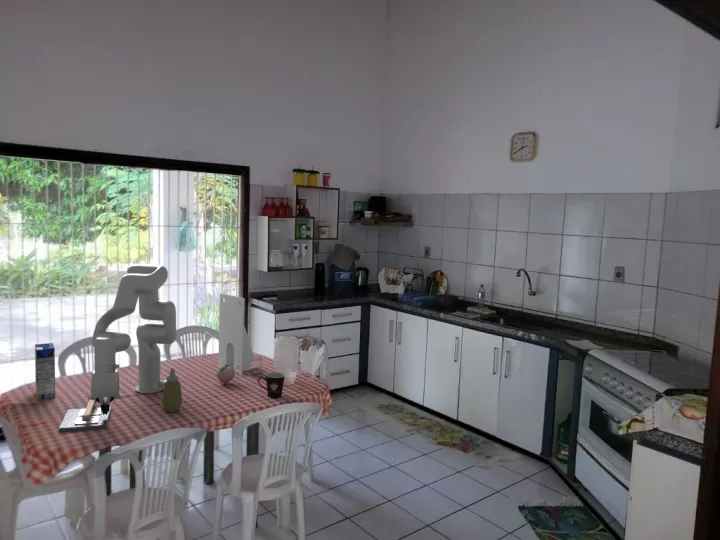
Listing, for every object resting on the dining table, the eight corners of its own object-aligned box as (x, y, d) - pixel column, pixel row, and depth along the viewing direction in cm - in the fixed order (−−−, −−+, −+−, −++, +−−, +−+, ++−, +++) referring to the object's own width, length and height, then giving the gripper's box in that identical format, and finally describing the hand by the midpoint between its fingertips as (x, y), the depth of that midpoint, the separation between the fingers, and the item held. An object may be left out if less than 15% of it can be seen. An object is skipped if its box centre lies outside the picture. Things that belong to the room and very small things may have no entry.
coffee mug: (287, 395, 262) (288, 374, 261) (277, 400, 254) (278, 378, 253) (266, 390, 267) (267, 370, 266) (256, 395, 259) (256, 374, 258)
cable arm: (98, 399, 235) (98, 395, 235) (90, 421, 212) (90, 416, 212) (89, 400, 234) (89, 395, 234) (79, 422, 211) (79, 417, 211)
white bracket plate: (263, 369, 301) (265, 296, 297) (241, 374, 290) (243, 298, 286) (239, 362, 314) (241, 291, 310) (218, 366, 303) (219, 293, 299)
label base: (111, 407, 236) (111, 400, 236) (105, 428, 215) (105, 420, 214) (69, 410, 231) (69, 402, 231) (59, 432, 210) (58, 423, 209)
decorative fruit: (230, 387, 269) (230, 367, 268) (214, 386, 271) (214, 365, 270) (237, 381, 278) (238, 362, 277) (222, 380, 280) (222, 360, 279)
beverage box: (37, 400, 241) (36, 350, 239) (35, 392, 251) (34, 344, 248) (55, 397, 245) (54, 348, 243) (53, 390, 254) (52, 342, 252)
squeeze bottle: (164, 406, 240) (165, 365, 238) (184, 407, 241) (184, 366, 239) (159, 413, 232) (159, 371, 230) (179, 413, 233) (180, 371, 231)
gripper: (126, 364, 226) (126, 408, 228) (85, 366, 221) (85, 411, 223) (124, 369, 219) (124, 415, 220) (82, 371, 214) (82, 418, 216)
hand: (105, 413), depth 222 cm, fingers closed
